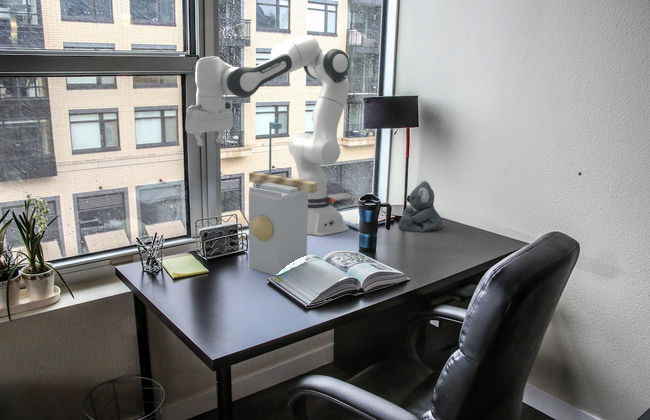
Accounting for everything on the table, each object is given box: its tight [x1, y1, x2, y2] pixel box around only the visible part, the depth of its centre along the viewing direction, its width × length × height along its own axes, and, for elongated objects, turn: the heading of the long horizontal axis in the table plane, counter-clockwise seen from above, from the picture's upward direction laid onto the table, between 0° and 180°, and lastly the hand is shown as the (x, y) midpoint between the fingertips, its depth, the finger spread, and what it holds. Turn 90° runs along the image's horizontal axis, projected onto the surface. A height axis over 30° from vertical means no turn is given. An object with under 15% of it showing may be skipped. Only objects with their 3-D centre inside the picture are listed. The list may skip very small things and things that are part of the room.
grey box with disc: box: [248, 183, 308, 276], centre depth 178 cm, size 12×17×27 cm
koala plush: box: [397, 180, 444, 233], centre depth 227 cm, size 17×18×20 cm
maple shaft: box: [248, 171, 317, 193], centre depth 179 cm, size 26×3×3 cm, turn 57°
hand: (210, 144), depth 191 cm, fingers open, 8 cm apart
